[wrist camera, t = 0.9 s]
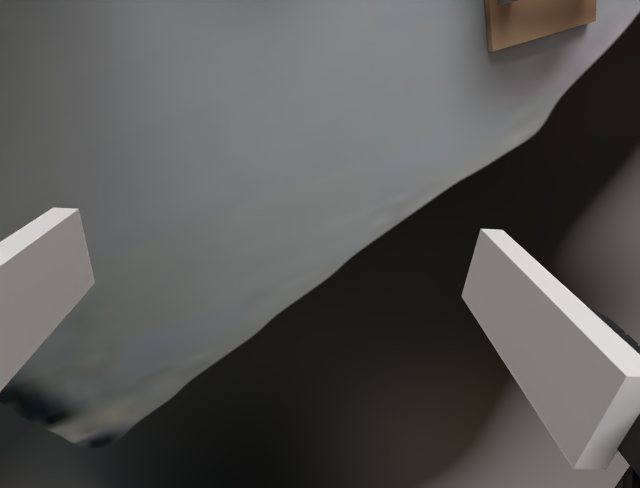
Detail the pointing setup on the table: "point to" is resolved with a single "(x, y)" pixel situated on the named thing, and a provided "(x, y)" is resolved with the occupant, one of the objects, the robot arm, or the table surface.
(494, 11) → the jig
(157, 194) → the table surface
